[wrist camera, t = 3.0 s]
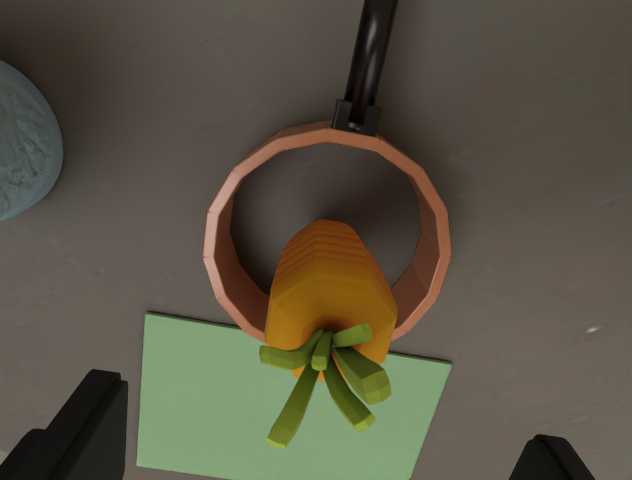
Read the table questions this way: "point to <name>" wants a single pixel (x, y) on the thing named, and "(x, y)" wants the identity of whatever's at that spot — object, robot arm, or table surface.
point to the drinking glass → (26, 143)
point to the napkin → (269, 411)
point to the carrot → (329, 325)
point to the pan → (352, 130)
